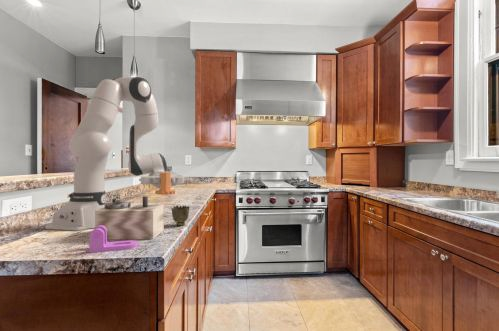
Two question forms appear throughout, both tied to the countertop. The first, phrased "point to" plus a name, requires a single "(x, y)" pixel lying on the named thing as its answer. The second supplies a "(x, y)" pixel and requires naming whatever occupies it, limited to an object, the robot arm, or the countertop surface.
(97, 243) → the bracket
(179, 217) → the cup
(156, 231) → the gearbox
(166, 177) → the orange gear
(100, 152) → the robot arm
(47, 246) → the countertop surface
